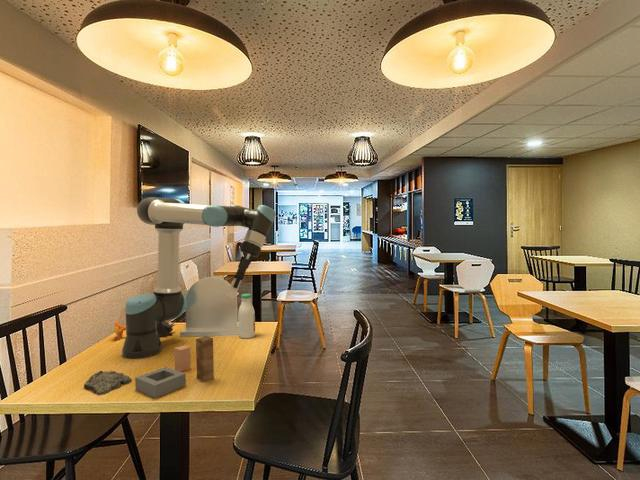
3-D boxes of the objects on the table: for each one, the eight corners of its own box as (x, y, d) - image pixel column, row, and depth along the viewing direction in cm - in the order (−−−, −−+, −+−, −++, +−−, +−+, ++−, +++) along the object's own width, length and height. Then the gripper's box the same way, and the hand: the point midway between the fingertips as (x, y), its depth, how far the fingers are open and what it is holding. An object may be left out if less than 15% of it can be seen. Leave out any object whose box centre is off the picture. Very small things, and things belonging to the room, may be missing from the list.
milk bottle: (251, 339, 178) (250, 296, 177) (235, 338, 179) (235, 295, 178) (257, 334, 185) (256, 293, 184) (242, 333, 187) (241, 292, 186)
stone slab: (113, 373, 140) (113, 365, 140) (137, 383, 130) (137, 375, 130) (75, 385, 130) (75, 376, 130) (98, 398, 120) (98, 388, 120)
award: (242, 330, 193) (241, 275, 192) (240, 335, 184) (239, 277, 183) (185, 331, 191) (183, 276, 190) (180, 337, 182) (178, 279, 181)
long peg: (196, 379, 133) (195, 338, 132) (206, 375, 136) (205, 335, 135) (204, 381, 131) (203, 340, 130) (213, 377, 134) (212, 337, 133)
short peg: (174, 369, 142) (174, 348, 141) (184, 366, 145) (183, 345, 145) (181, 371, 139) (180, 350, 139) (190, 368, 143) (190, 347, 142)
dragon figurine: (117, 318, 185) (171, 303, 191) (125, 342, 186) (178, 326, 193) (112, 324, 175) (169, 307, 181) (120, 349, 176) (176, 332, 182)
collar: (135, 389, 125) (135, 377, 125) (166, 378, 134) (165, 366, 134) (155, 398, 118) (154, 385, 118) (185, 385, 127) (185, 373, 127)
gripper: (266, 243, 135) (241, 300, 129) (258, 252, 158) (237, 301, 153) (245, 234, 133) (220, 292, 128) (241, 245, 157) (219, 294, 152)
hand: (229, 297), depth 140 cm, fingers open, 13 cm apart
